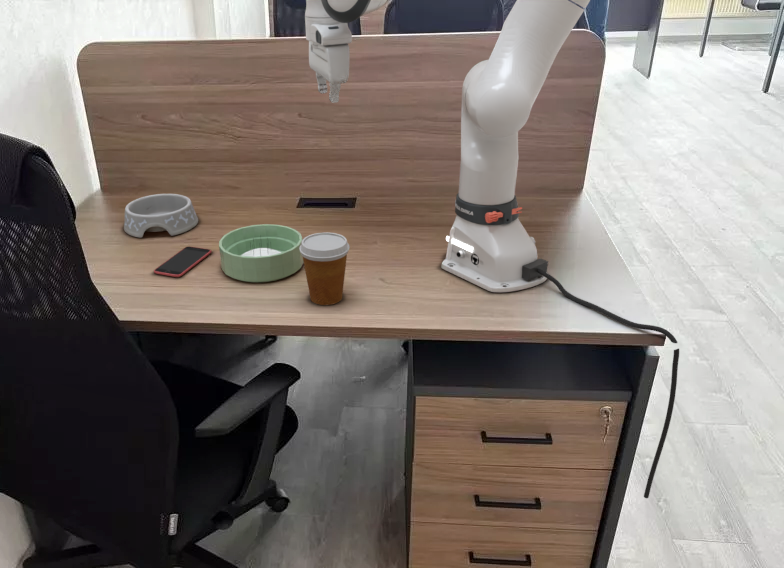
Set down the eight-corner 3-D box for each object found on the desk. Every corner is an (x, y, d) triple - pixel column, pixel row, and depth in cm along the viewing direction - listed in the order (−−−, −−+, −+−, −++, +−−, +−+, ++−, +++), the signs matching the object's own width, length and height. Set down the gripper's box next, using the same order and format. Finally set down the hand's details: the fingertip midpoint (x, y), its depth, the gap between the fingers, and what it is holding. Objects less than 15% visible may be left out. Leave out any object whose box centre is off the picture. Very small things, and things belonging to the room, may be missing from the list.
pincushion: (290, 255, 159) (289, 231, 156) (290, 267, 154) (289, 243, 151) (236, 258, 159) (233, 234, 156) (234, 270, 154) (231, 246, 151)
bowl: (316, 272, 152) (315, 246, 149) (237, 291, 147) (234, 264, 144) (285, 243, 166) (283, 218, 163) (212, 259, 161) (208, 234, 158)
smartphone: (151, 271, 156) (186, 245, 166) (152, 273, 156) (187, 247, 166) (179, 275, 153) (213, 249, 164) (179, 278, 153) (213, 251, 164)
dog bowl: (130, 214, 187) (126, 194, 184) (201, 209, 187) (198, 189, 184) (118, 240, 173) (114, 219, 170) (195, 235, 173) (192, 214, 170)
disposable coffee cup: (299, 308, 139) (295, 251, 133) (305, 286, 147) (302, 231, 141) (348, 310, 138) (347, 252, 132) (352, 287, 146) (351, 231, 140)
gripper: (300, 24, 162) (303, 89, 169) (324, 38, 145) (326, 109, 152) (327, 22, 163) (329, 86, 170) (354, 35, 146) (355, 105, 153)
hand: (328, 97), depth 161 cm, fingers open, 8 cm apart
